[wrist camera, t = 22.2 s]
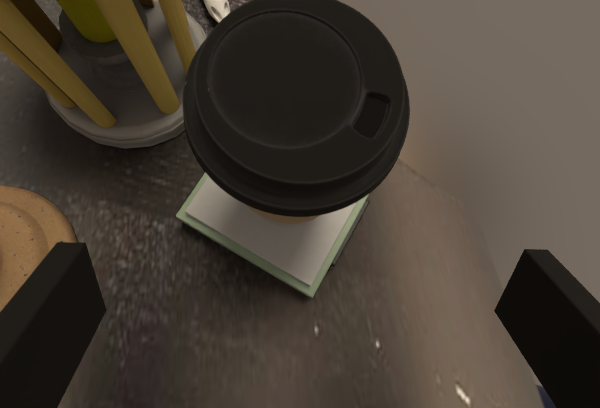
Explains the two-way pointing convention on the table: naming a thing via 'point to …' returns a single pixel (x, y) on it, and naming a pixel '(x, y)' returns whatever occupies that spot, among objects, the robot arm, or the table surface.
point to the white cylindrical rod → (217, 8)
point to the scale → (272, 235)
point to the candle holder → (26, 236)
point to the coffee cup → (296, 107)
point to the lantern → (107, 64)
